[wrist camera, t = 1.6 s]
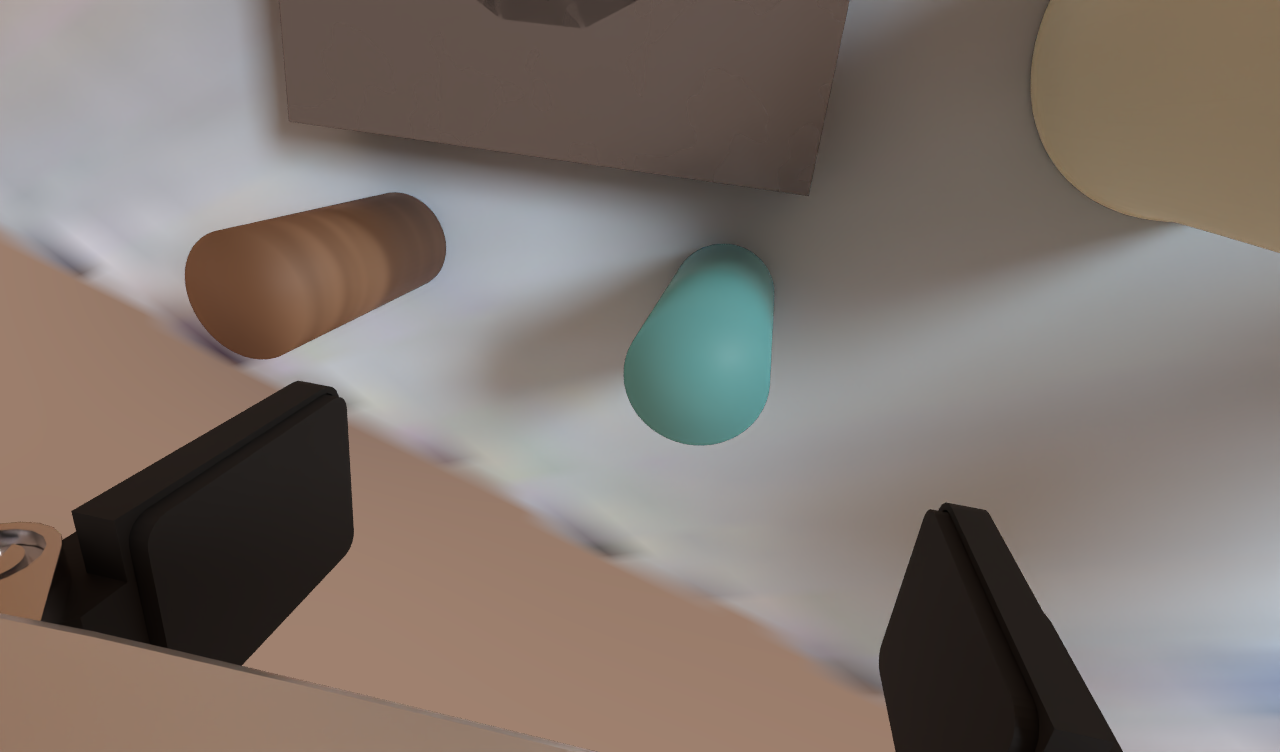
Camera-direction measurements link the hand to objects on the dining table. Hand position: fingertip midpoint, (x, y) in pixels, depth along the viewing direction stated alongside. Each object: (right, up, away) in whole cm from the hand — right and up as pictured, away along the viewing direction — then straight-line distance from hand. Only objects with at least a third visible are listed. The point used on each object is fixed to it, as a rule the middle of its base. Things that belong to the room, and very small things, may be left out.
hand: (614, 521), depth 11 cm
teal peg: (+3, +5, +13) cm, 14 cm away
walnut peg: (-8, +7, +14) cm, 18 cm away
